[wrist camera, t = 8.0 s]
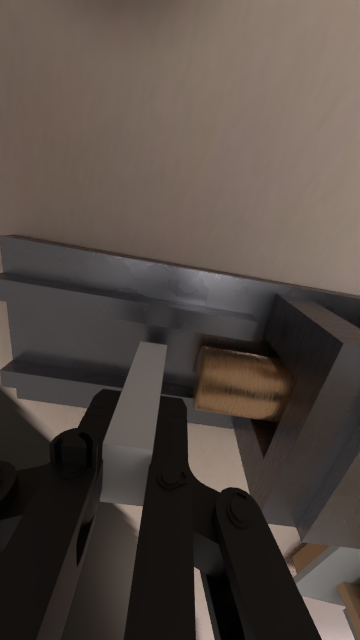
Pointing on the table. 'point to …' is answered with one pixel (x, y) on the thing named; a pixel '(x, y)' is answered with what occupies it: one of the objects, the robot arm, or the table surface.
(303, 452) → the grey slide track
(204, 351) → the tube
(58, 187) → the table surface
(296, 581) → the desk lamp
